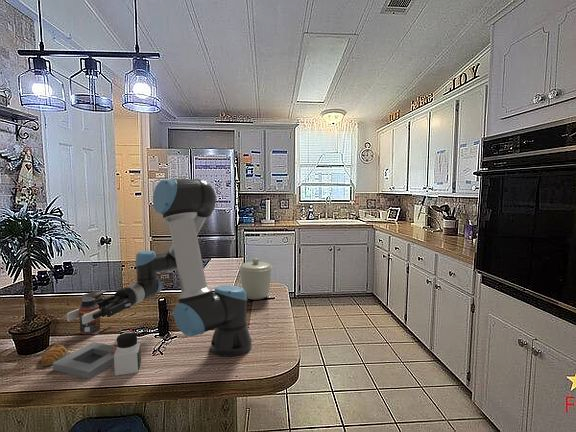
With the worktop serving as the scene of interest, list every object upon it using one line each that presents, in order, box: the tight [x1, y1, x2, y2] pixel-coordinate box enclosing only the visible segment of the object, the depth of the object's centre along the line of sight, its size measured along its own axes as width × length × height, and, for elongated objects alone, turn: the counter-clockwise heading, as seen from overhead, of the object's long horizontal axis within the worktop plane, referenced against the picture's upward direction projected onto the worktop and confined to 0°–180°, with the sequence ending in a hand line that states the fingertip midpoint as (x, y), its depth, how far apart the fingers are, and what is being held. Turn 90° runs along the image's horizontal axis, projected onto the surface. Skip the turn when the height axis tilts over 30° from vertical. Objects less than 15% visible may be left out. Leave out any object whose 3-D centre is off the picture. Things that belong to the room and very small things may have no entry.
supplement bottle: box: [78, 298, 100, 335], centre depth 119 cm, size 6×6×11 cm
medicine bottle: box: [113, 331, 142, 377], centre depth 116 cm, size 7×7×12 cm
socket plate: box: [52, 341, 117, 380], centre depth 120 cm, size 16×16×3 cm
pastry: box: [40, 344, 69, 367], centre depth 122 cm, size 9×7×4 cm
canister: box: [238, 257, 273, 300], centre depth 187 cm, size 18×18×21 cm
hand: (75, 318), depth 114 cm, fingers closed on supplement bottle, 6 cm apart
